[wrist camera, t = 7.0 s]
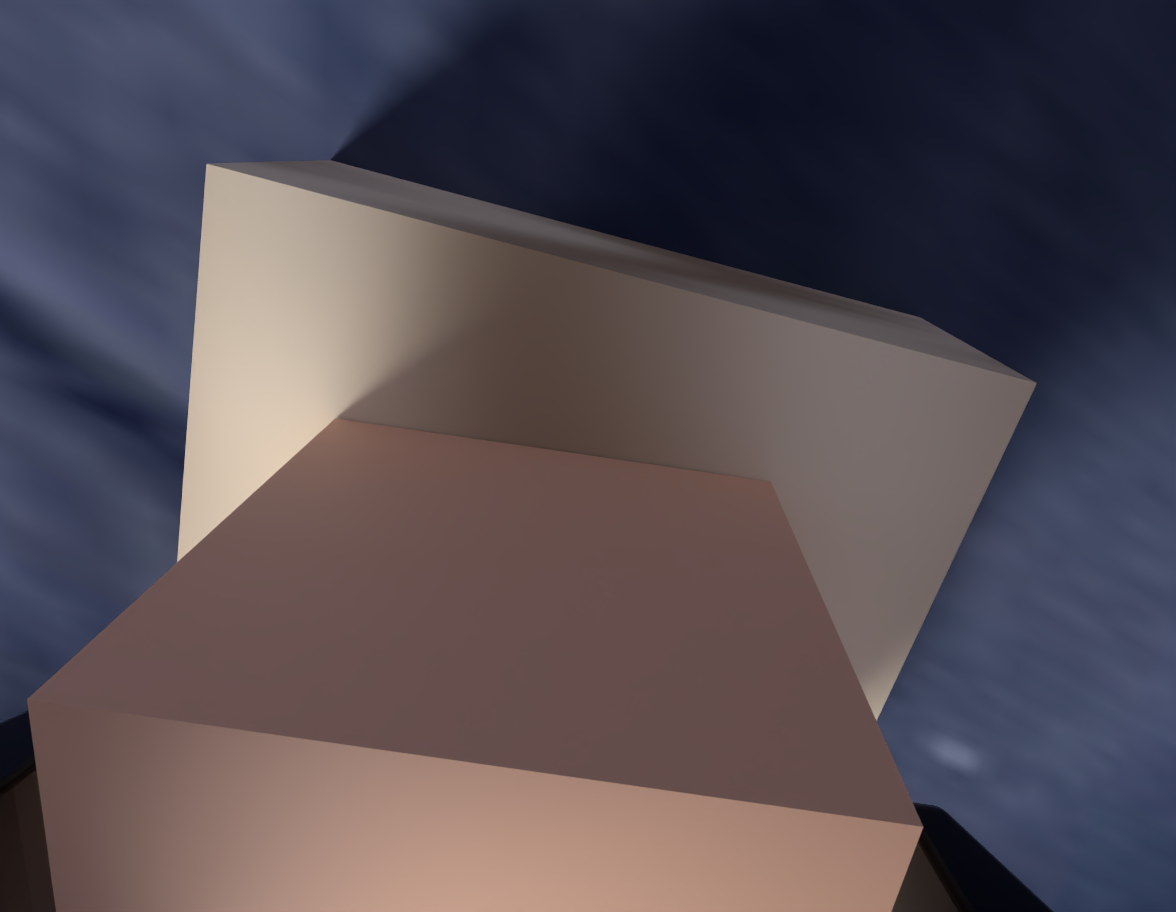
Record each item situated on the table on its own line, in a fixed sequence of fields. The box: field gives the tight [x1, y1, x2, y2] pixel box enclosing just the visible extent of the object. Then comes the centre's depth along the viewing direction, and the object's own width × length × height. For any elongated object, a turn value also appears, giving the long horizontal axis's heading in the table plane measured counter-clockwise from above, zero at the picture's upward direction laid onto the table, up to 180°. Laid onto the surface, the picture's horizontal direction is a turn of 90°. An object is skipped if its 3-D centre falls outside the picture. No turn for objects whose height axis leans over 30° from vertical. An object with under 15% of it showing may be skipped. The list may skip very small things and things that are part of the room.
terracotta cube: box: [27, 418, 923, 912], centre depth 8 cm, size 5×5×5 cm
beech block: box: [177, 160, 1037, 721], centre depth 12 cm, size 9×9×4 cm
